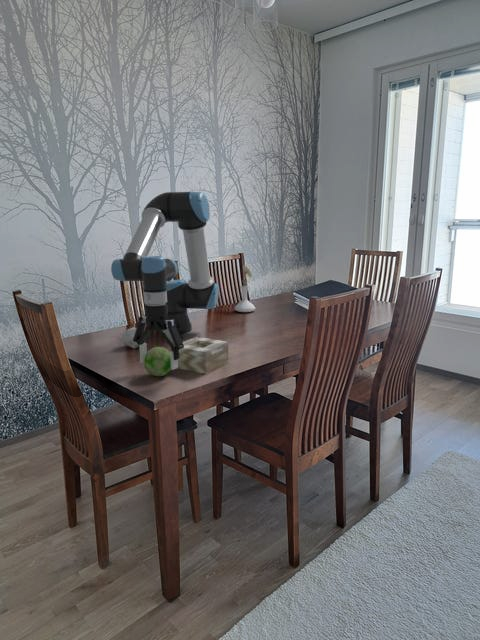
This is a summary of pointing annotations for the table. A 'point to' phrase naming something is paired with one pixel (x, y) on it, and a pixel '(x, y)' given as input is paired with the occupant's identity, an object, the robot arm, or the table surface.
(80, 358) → the table surface
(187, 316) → the robot arm
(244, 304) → the flower in vase
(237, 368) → the table surface
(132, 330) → the grey faceted polyhedron
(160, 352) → the decorative ball
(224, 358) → the display stand
